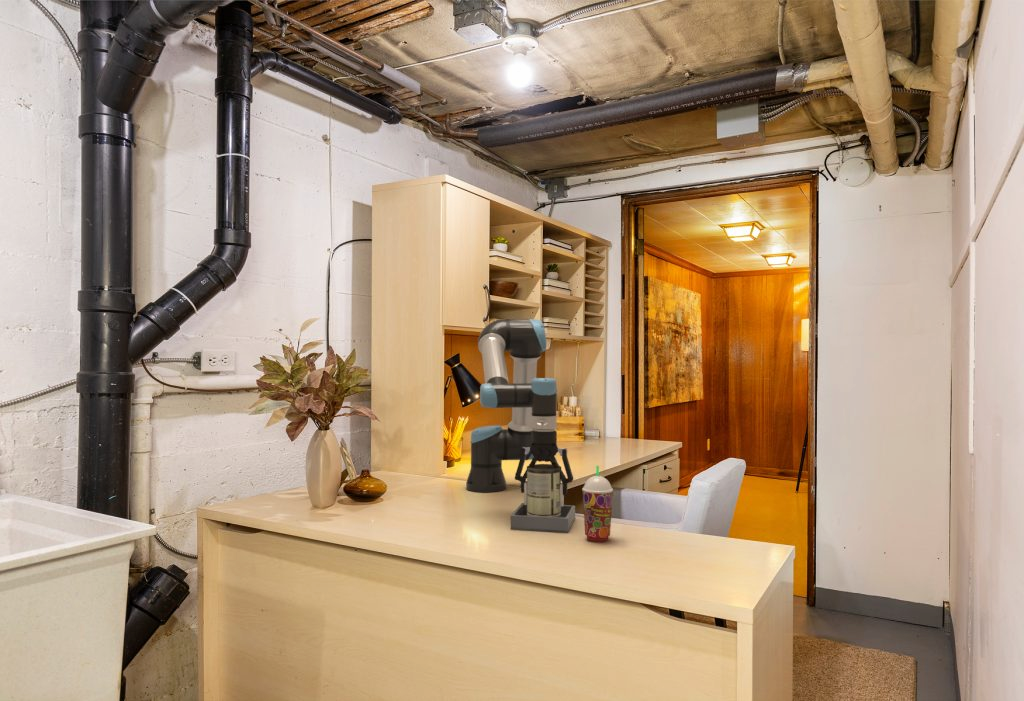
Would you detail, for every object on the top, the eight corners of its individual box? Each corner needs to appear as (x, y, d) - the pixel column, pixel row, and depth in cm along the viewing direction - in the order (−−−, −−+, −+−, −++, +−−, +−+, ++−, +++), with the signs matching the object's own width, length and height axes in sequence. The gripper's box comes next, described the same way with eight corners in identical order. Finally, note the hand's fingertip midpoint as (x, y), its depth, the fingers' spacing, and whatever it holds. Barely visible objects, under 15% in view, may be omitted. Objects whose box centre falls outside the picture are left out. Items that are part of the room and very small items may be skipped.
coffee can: (527, 509, 201) (527, 463, 201) (561, 510, 200) (561, 464, 200) (525, 517, 191) (525, 469, 191) (560, 518, 190) (560, 470, 190)
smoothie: (593, 545, 173) (593, 469, 173) (576, 537, 181) (576, 464, 181) (619, 541, 177) (619, 466, 177) (601, 533, 184) (601, 462, 185)
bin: (522, 515, 205) (522, 503, 205) (575, 518, 201) (575, 505, 201) (510, 529, 189) (510, 515, 189) (568, 532, 185) (568, 518, 185)
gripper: (504, 430, 194) (504, 505, 194) (580, 432, 189) (580, 509, 189) (509, 427, 202) (509, 500, 201) (583, 429, 197) (583, 503, 196)
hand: (543, 504), depth 195 cm, fingers closed on coffee can, 10 cm apart
